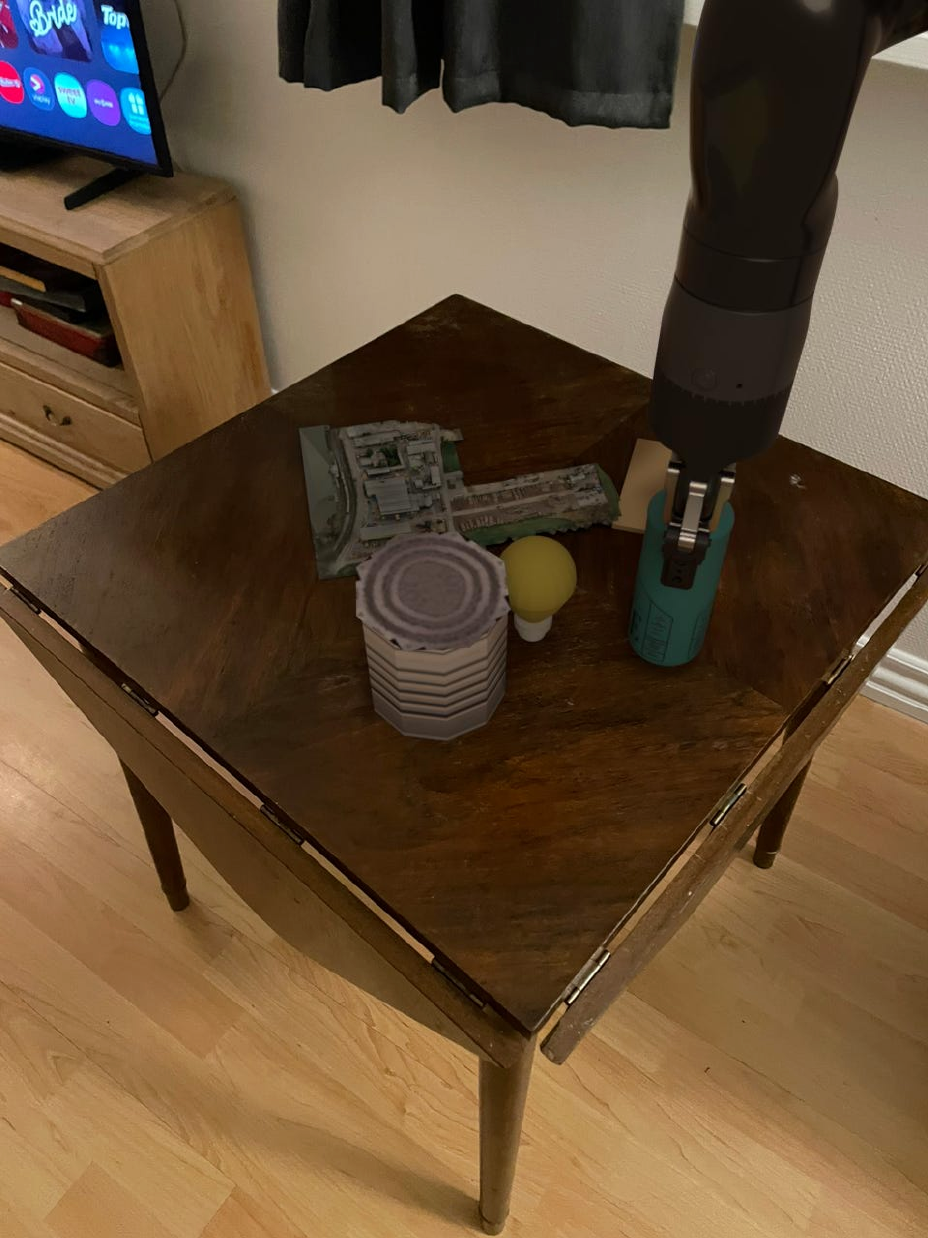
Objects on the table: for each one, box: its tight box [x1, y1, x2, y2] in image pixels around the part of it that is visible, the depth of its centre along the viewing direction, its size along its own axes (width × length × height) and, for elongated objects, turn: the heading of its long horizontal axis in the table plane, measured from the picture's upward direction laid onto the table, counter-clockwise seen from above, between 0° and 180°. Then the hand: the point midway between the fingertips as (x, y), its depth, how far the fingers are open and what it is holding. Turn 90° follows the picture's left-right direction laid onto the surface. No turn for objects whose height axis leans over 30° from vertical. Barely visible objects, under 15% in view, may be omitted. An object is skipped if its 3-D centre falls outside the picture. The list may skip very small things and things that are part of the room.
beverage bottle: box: [626, 488, 735, 667], centre depth 71 cm, size 6×7×20 cm
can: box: [355, 532, 512, 742], centre depth 72 cm, size 11×11×12 cm
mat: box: [611, 437, 672, 535], centre depth 93 cm, size 10×14×1 cm
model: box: [298, 419, 622, 581], centre depth 93 cm, size 21×30×2 cm
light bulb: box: [498, 535, 578, 642], centre depth 77 cm, size 7×7×10 cm
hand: (676, 580), depth 63 cm, fingers closed
